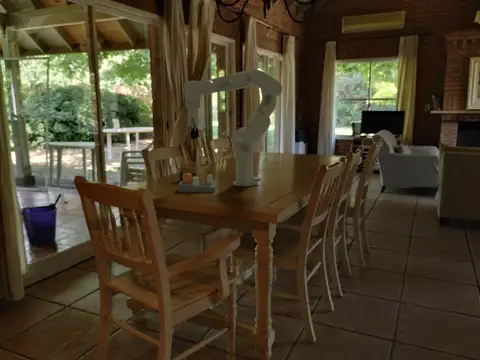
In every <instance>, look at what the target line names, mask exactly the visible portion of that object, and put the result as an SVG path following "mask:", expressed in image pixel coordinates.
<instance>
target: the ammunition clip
mask: <svg viewBox="0 0 480 360" xmlns="http://www.w3.org/2000/svg"><path fill="white" fill-rule="evenodd" d="M179 164H180V165H179V182H181V181H183V173H191V181H193V177H198V172H197V164H196V160H195V161H190V160H189V161H187V160H186V161H185V160H183V161H182V160H180V163H179Z"/></svg>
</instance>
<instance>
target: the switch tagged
mask: <svg viewBox="0 0 480 360" xmlns="http://www.w3.org/2000/svg"><path fill="white" fill-rule="evenodd" d="M206 182H207V183H211V184H212V183H213V174H207V175H206Z"/></svg>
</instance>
